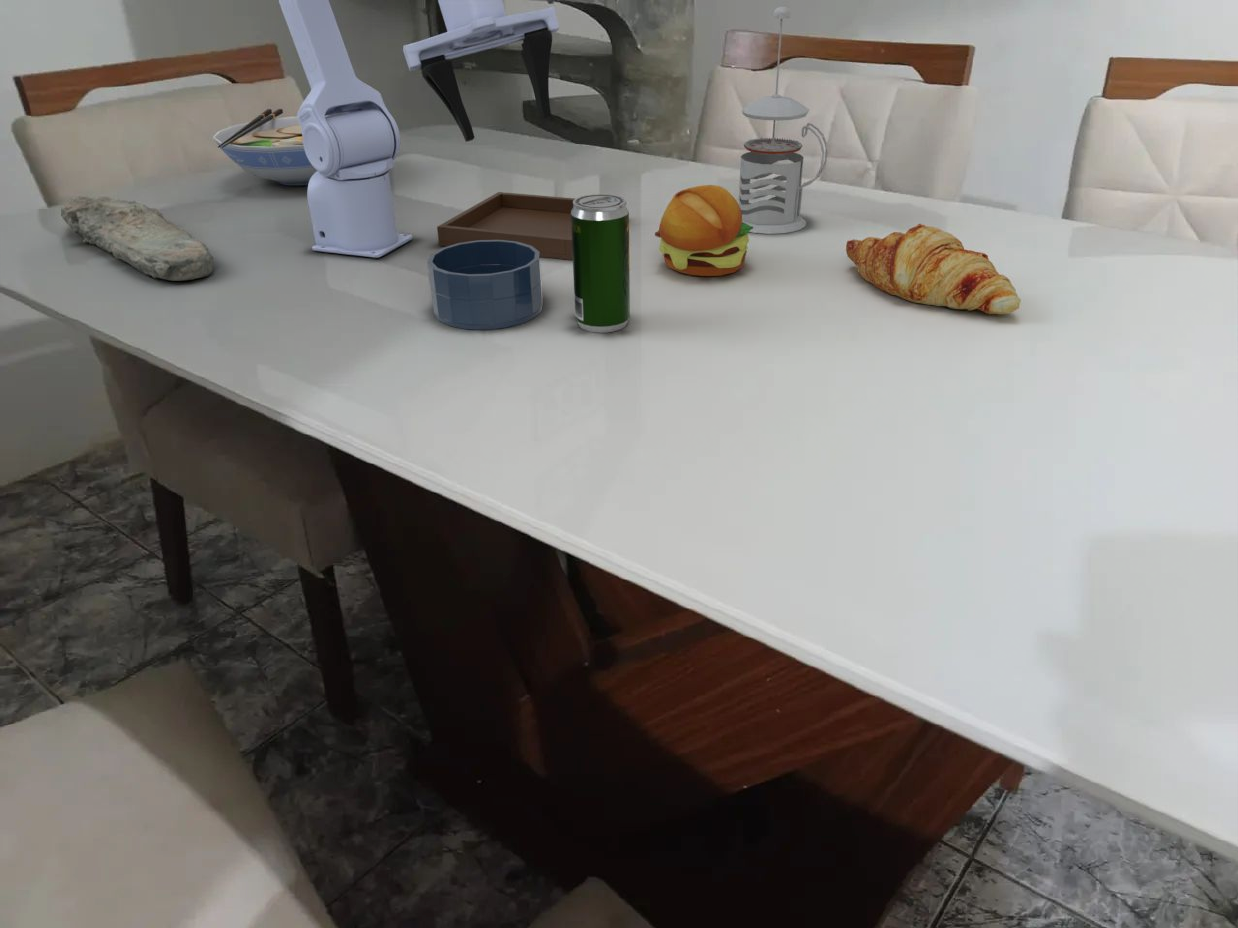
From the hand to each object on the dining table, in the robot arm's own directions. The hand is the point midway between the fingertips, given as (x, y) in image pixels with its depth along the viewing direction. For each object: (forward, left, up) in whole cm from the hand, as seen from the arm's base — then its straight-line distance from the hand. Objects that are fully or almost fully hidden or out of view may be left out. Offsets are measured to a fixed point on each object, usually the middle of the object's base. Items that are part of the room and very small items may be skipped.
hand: (508, 129), depth 89 cm
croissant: (+40, +14, -17) cm, 46 cm away
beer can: (+11, -4, -17) cm, 21 cm away
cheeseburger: (+16, +15, -17) cm, 28 cm away
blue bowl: (-2, -4, -17) cm, 18 cm away
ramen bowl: (-53, +35, -17) cm, 66 cm away
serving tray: (-8, +21, -17) cm, 28 cm away
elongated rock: (-52, +1, -17) cm, 55 cm away
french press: (+20, +34, -17) cm, 43 cm away
